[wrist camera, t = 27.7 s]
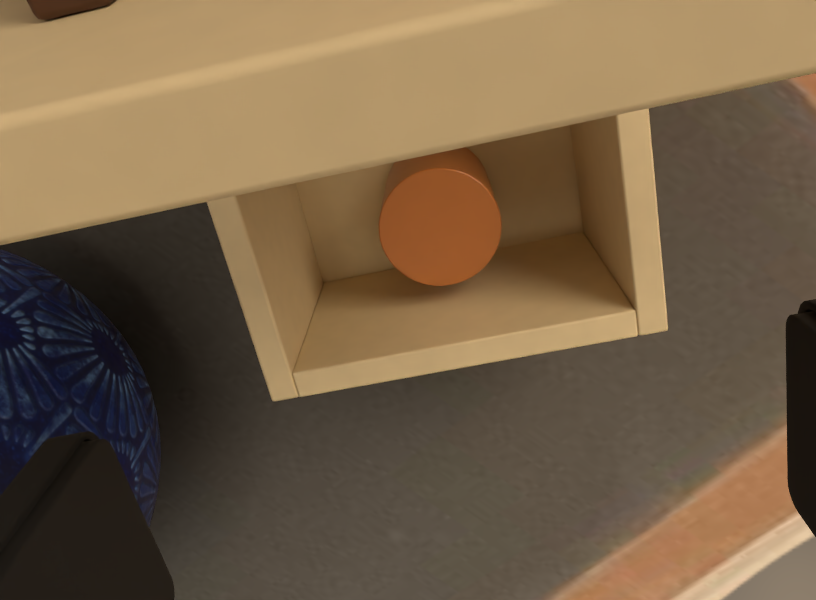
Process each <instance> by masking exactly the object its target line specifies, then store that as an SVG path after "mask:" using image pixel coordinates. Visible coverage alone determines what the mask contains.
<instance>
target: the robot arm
mask: <svg viewBox="0 0 816 600" xmlns="http://www.w3.org/2000/svg"><path fill="white" fill-rule="evenodd" d="M786 382H787V462H788V487H789V492H790V495H791V498H792V501H793V503H794V506H795V508H796V509H797V511H798V513H799V514H800V515H801V517H802V518H803V520H804V521H805V523H806V524H807V525H808V527H809V528H810V530H811V531H812V533H813V534H814V535H815V537H816V299H814V300H809V301H804V302H803V303H802V304H801V305H800V308H799V311H798V314H794V315H790V316H789V317H788V319H787V322H786ZM0 600H174V585H173V581H172V578H171V575H170V573H169V571H168V569H167V567H166V564H165V562H164V560H163V558H162V555H161V553H160V551H159V549H158V547H157V544H156V542H155V540H154V538H153V535H152V533H151V531H150V529H149V527H148V524H147V522H146V520H145V518H144V516H143V513H142V511H141V509H140V507H139V504H138V502H137V500H136V498H135V496H134V493H133V491H132V489H131V487H130V485H129V482H128V480H127V478H126V476H125V473H124V471H123V469H122V467H121V465H120V462H119V460H118V458H117V456H116V453H115V451H114V449H113V447H112V445H111V444H110V443H109V442H108V441H107V440H105V439H99V437H98V436H97V435H95V434H94V433H93V432H90V431H86V432H80V433H75V434H69V435H64V436H58V437H53V438H49V439H47V440H46V441H45V442H44V443H43V444H42V445H41V446H40V447H39V449H38V450H37V451H36V452H35V453H34V455H33V456H32V457H31V458H30V460H29V461H28V462H27V463H26V465H25V466H24V467H23V468H22V469H21V471H20V472H19V473H18V474H17V476H16V477H15V478H14V479H13V481H12V482H11V483H10V484H9V485H8V487H7V488H6V489H5V490H4V492H3V493H2V494H1V495H0Z"/></svg>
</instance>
